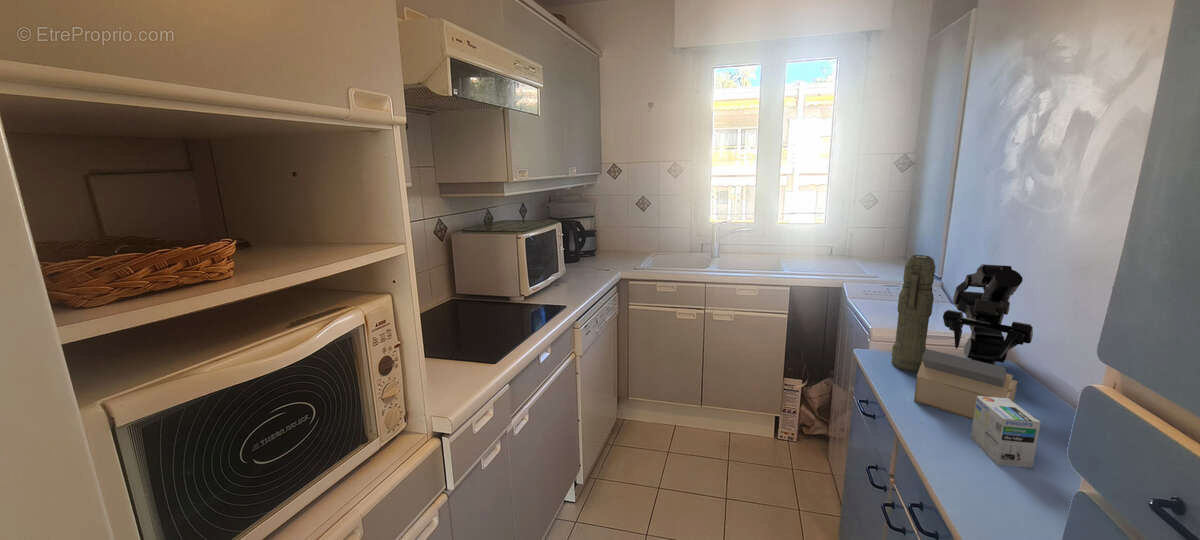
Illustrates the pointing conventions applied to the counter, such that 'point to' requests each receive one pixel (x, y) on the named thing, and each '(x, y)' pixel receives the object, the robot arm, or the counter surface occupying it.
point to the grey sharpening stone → (965, 374)
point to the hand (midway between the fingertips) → (977, 352)
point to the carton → (951, 397)
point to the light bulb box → (1005, 431)
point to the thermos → (914, 313)
